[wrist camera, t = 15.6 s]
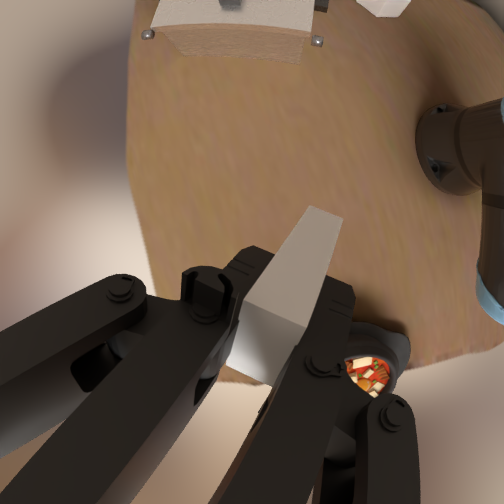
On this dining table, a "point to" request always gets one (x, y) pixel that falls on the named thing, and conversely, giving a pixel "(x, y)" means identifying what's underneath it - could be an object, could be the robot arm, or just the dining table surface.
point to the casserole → (376, 357)
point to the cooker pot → (241, 42)
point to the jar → (385, 7)
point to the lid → (236, 15)
